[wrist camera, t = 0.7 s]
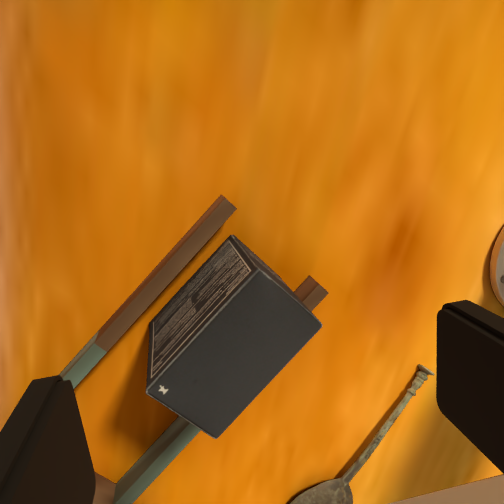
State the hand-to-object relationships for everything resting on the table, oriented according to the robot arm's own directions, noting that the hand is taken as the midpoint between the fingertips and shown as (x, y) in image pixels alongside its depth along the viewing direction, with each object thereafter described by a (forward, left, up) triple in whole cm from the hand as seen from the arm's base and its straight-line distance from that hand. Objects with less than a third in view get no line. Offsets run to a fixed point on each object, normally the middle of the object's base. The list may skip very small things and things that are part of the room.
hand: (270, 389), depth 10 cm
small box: (-6, +4, -25) cm, 26 cm away
